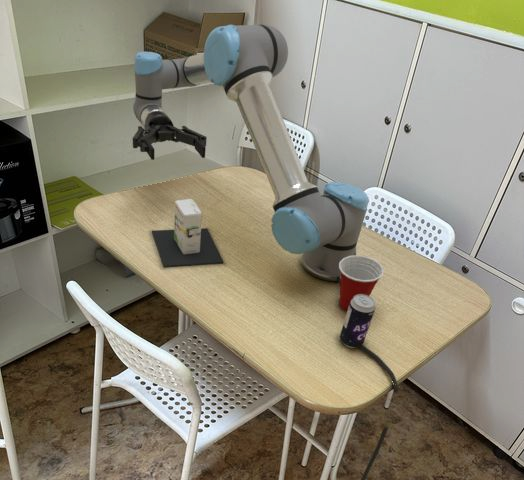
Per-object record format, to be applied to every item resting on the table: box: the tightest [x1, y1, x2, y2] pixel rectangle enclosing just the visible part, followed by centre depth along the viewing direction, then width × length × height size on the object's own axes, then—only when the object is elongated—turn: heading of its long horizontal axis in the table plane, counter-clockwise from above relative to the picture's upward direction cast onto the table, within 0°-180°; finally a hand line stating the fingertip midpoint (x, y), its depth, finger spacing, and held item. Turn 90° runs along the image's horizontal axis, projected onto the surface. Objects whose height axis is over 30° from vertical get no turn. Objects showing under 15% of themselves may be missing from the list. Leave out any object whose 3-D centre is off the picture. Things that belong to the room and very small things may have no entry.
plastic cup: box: [339, 254, 385, 312], centre depth 128 cm, size 11×11×12 cm
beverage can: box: [339, 294, 376, 349], centre depth 117 cm, size 6×6×12 cm
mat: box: [151, 227, 225, 268], centre depth 143 cm, size 18×16×1 cm
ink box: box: [173, 198, 203, 254], centre depth 139 cm, size 8×5×12 cm, turn 25°
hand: (179, 153), depth 135 cm, fingers open, 13 cm apart
